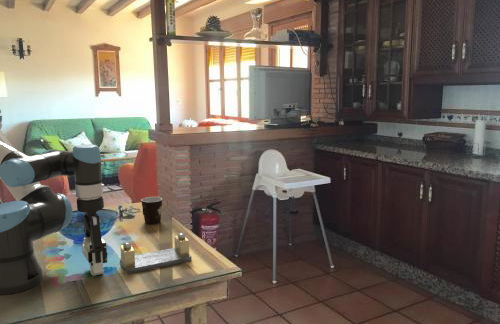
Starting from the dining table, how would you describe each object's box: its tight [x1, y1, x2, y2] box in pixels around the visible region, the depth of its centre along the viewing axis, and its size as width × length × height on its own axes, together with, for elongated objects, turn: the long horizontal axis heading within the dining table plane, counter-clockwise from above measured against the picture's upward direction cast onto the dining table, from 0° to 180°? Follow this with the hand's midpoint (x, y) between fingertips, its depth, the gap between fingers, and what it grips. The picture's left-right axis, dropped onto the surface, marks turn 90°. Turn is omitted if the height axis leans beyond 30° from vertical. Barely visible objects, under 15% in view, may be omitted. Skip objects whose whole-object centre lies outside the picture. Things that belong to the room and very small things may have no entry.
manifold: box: [119, 232, 193, 275], centre depth 141 cm, size 21×10×8 cm, turn 118°
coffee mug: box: [140, 196, 163, 226], centre depth 179 cm, size 12×9×10 cm
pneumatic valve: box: [81, 236, 108, 277], centre depth 132 cm, size 6×12×12 cm, turn 32°
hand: (94, 263), depth 132 cm, fingers open, 13 cm apart
